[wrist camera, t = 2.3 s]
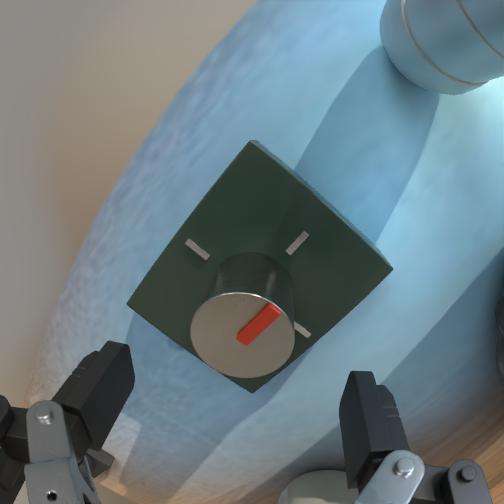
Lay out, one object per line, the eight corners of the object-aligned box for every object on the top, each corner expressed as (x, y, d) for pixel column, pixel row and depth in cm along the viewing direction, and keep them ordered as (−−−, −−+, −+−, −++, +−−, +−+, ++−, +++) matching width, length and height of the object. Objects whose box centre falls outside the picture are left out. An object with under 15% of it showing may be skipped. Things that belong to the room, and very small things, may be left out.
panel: (255, 366, 23) (252, 395, 20) (143, 283, 21) (124, 305, 18) (379, 250, 19) (395, 270, 16) (255, 139, 18) (250, 139, 15)
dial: (256, 338, 18) (248, 396, 14) (195, 293, 18) (168, 343, 13) (309, 287, 17) (317, 340, 12) (245, 235, 16) (230, 274, 12)
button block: (44, 431, 31) (32, 448, 28) (53, 414, 29) (39, 433, 26) (98, 469, 33) (89, 487, 29) (114, 457, 30) (104, 478, 27)
